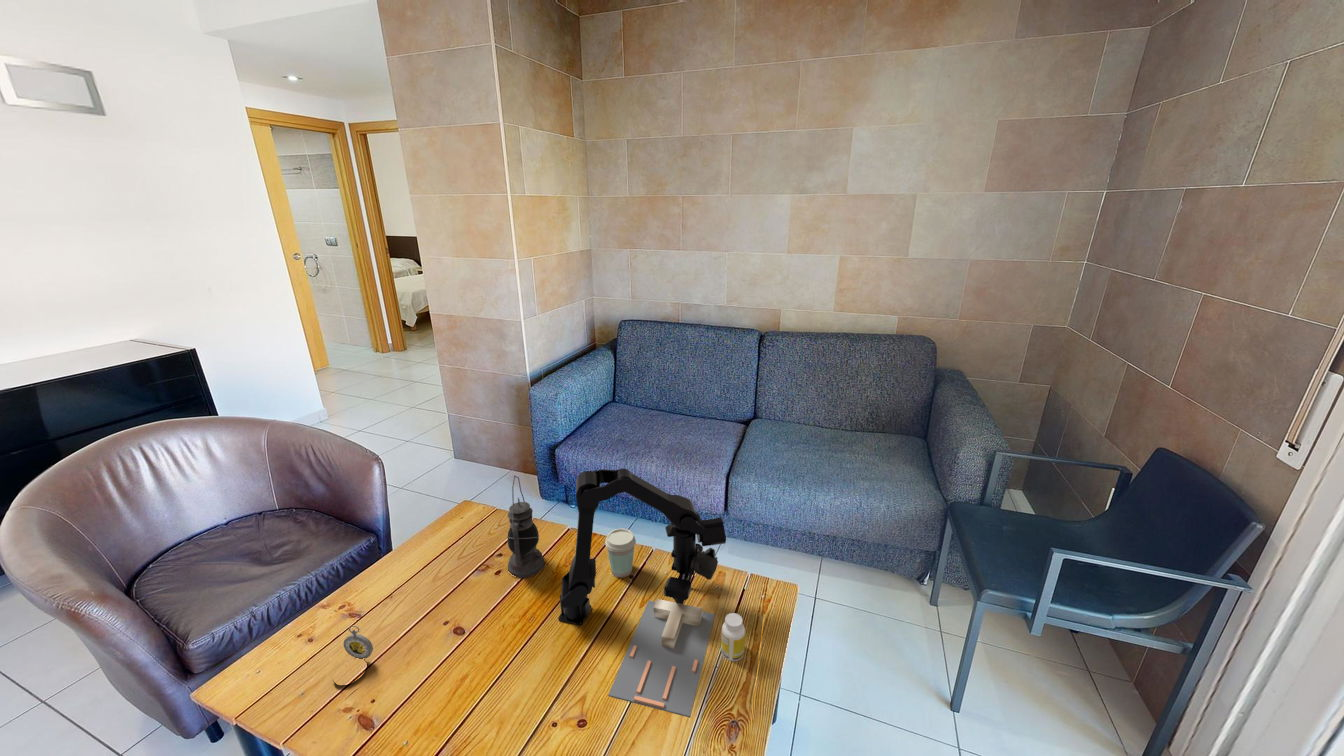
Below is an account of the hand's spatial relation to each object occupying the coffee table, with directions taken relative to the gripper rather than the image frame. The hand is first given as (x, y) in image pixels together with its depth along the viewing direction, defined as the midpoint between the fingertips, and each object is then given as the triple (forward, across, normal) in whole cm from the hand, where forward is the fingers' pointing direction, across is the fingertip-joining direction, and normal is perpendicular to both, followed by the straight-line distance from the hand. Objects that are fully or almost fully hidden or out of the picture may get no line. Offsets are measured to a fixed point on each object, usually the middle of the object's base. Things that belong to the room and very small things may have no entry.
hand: (684, 594), depth 131 cm
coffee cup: (+2, +6, +20) cm, 21 cm away
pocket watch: (+1, -40, +67) cm, 78 cm away
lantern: (+1, +1, +48) cm, 48 cm away
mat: (+1, -17, 0) cm, 17 cm away
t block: (+1, -11, 0) cm, 11 cm away
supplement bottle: (+2, -13, -15) cm, 20 cm away
